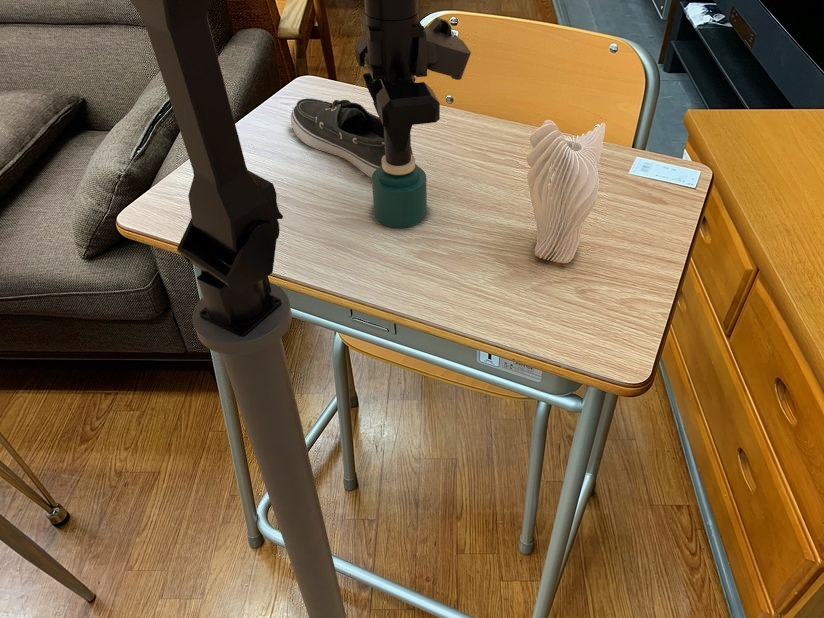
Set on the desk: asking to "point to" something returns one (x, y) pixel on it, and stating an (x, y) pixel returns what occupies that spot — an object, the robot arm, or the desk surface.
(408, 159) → the flashlight
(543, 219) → the beige finned vase
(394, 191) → the bottle
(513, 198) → the desk surface
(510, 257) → the desk surface
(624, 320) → the desk surface
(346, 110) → the boat shoe
